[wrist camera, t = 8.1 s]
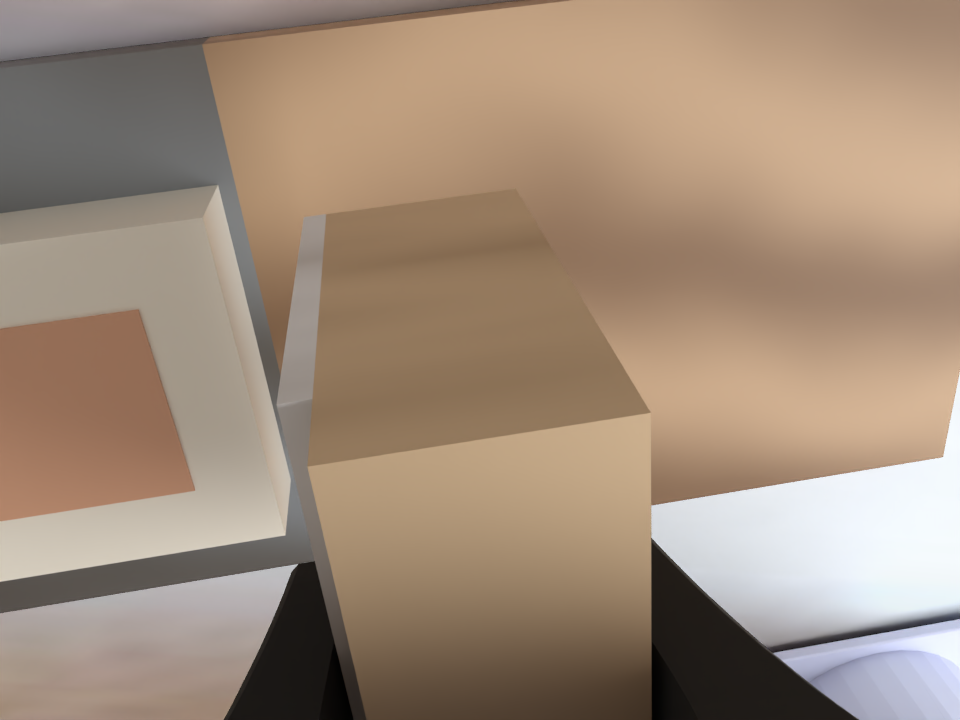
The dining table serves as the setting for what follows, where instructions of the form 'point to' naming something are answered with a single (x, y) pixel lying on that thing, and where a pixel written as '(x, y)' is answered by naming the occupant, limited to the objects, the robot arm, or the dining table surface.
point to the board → (577, 203)
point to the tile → (130, 387)
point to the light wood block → (467, 468)
